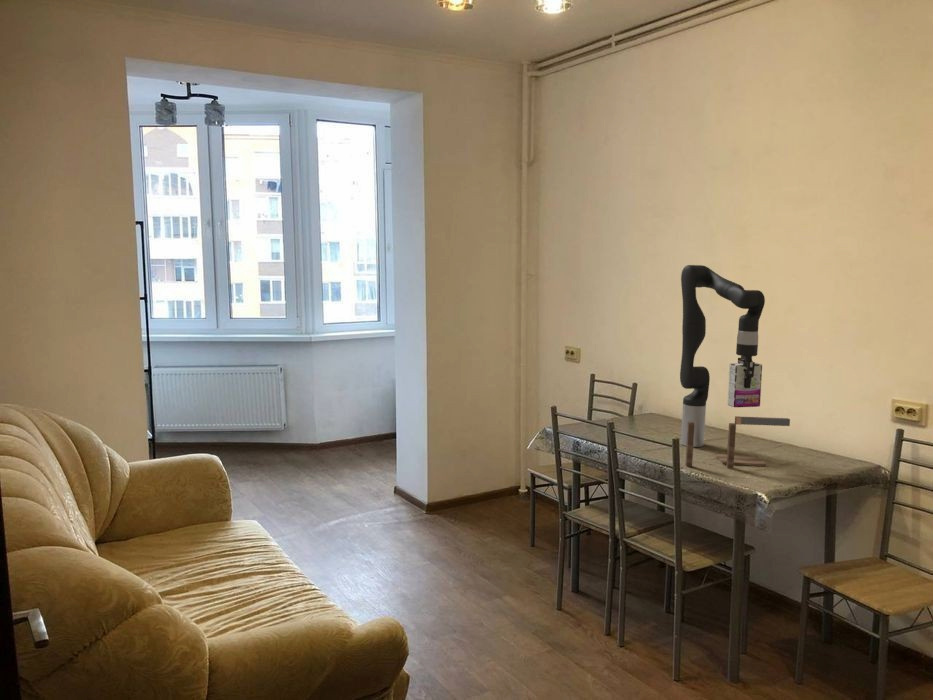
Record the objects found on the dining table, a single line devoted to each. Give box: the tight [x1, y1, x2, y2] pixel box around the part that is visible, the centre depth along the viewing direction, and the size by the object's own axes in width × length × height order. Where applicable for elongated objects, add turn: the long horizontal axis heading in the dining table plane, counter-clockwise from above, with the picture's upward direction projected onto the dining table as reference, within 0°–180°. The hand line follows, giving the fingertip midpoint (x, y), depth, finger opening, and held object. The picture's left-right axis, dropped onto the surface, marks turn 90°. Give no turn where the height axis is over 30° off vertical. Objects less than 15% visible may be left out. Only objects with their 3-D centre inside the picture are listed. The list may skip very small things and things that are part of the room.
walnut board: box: [714, 453, 767, 467], centre depth 275 cm, size 12×16×1 cm
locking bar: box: [734, 415, 791, 427], centre depth 263 cm, size 2×19×3 cm, turn 85°
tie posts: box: [685, 422, 737, 469], centre depth 265 cm, size 2×17×17 cm, turn 85°
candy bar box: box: [727, 362, 763, 408], centre depth 271 cm, size 11×5×16 cm, turn 101°
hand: (744, 386), depth 272 cm, fingers closed on candy bar box, 6 cm apart
